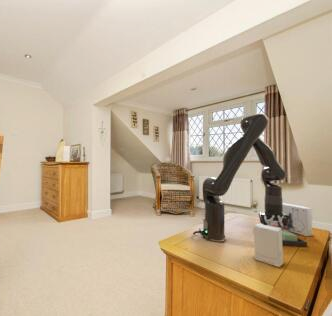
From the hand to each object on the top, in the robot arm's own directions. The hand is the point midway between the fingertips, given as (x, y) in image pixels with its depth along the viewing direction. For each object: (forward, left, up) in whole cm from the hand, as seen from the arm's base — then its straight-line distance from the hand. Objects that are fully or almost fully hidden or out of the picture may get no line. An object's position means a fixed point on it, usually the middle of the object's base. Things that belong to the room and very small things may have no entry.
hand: (273, 232), depth 110 cm
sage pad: (0, -8, -1) cm, 8 cm away
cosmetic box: (-23, -32, -2) cm, 40 cm away
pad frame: (0, -4, -2) cm, 5 cm away
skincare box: (+15, +12, -2) cm, 19 cm away
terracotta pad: (0, 0, -1) cm, 1 cm away
